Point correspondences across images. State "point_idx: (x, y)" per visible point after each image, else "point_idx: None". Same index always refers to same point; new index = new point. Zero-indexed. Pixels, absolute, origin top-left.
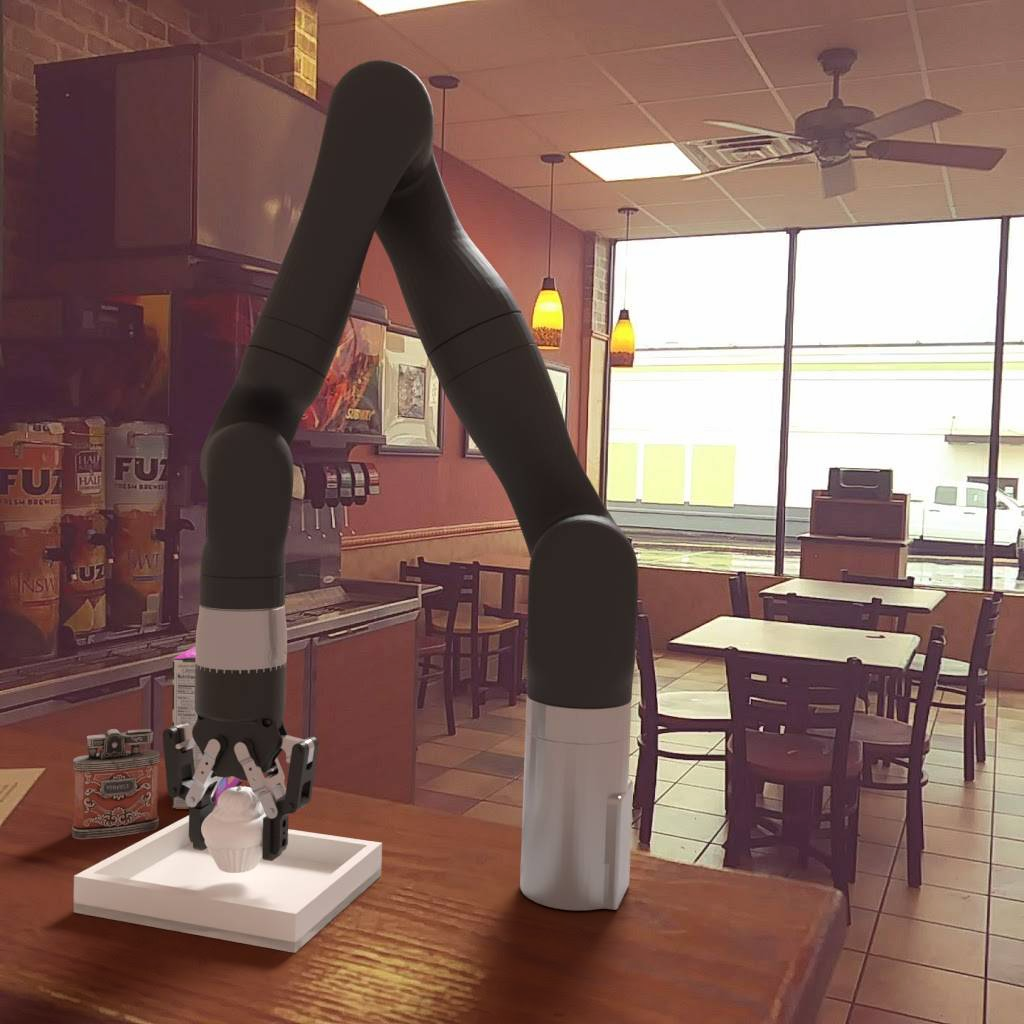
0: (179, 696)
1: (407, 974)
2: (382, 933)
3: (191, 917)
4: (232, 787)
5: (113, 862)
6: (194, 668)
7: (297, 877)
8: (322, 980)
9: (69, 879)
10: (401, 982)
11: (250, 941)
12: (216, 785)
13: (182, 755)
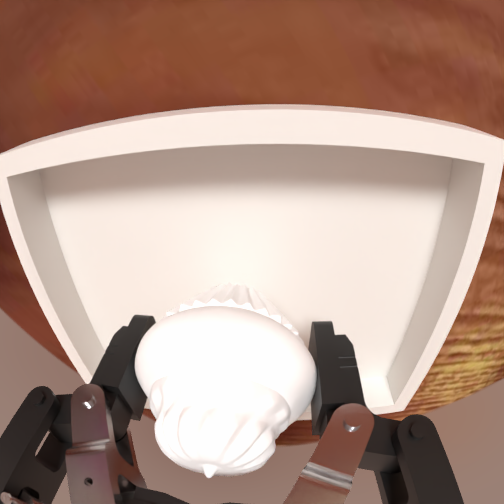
0: None
1: (488, 358)
2: (478, 310)
3: None
4: (180, 461)
5: (87, 367)
6: None
7: (336, 231)
8: (424, 390)
9: (32, 302)
10: (482, 367)
11: None
12: (110, 432)
13: (40, 489)
